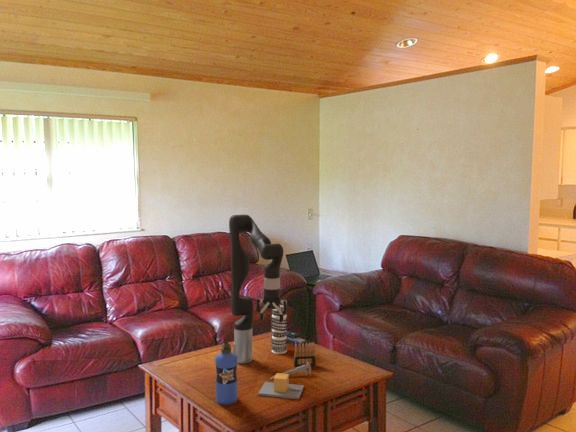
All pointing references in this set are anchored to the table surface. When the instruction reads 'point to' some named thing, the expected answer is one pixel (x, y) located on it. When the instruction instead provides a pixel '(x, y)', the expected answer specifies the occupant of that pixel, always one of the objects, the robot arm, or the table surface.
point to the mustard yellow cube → (281, 382)
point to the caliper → (298, 370)
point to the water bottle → (226, 376)
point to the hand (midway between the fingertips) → (271, 321)
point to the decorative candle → (279, 332)
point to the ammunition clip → (304, 355)
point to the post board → (291, 393)
